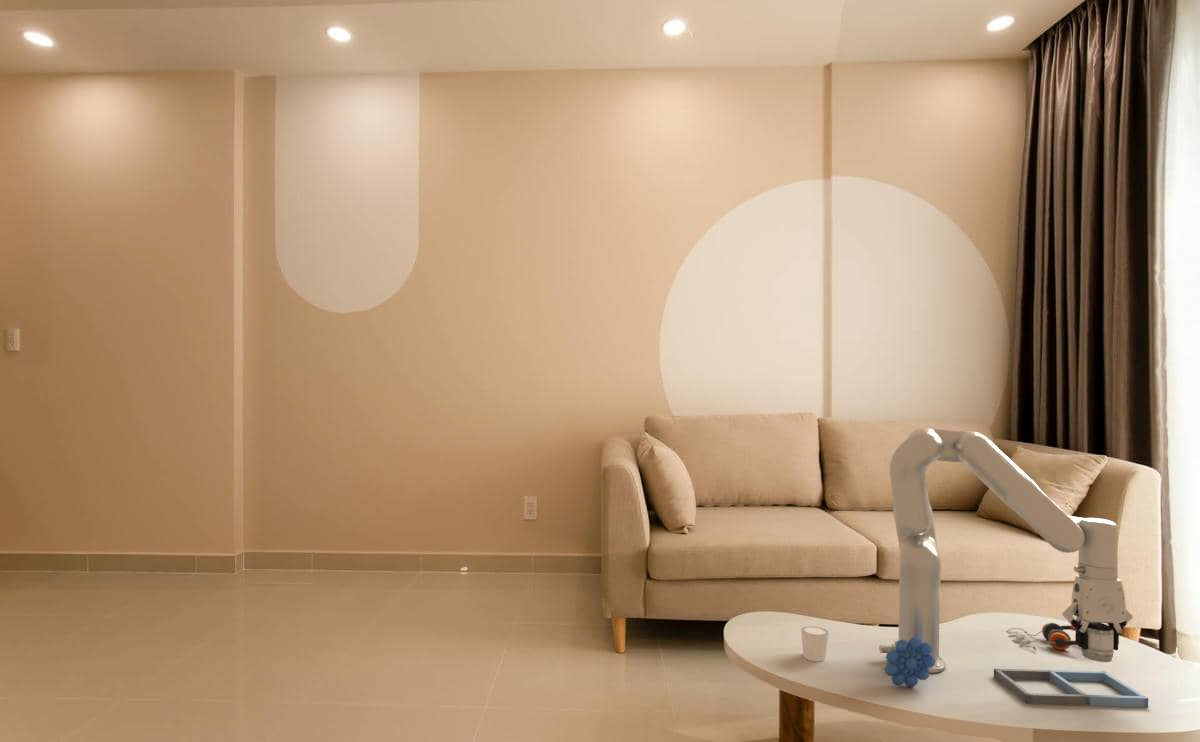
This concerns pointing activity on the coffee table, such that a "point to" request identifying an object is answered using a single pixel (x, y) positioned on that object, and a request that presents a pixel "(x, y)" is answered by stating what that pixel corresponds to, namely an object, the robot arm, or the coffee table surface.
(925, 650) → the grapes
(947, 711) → the coffee table surface
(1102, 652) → the camera lens
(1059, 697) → the organizer
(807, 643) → the shot glass
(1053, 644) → the headphones
